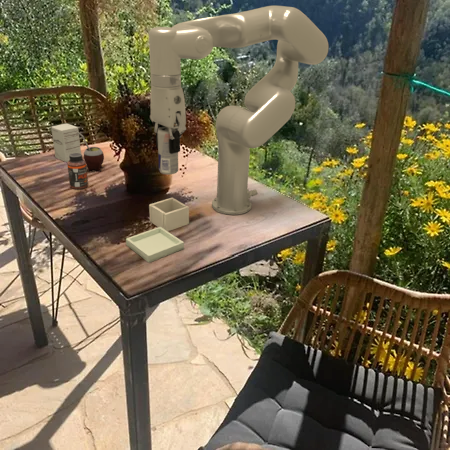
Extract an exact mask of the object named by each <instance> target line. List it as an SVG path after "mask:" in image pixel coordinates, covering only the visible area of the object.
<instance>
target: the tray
mask: <svg viewBox="0 0 450 450" xmlns="http://www.w3.org/2000/svg"><path fill="white" fill-rule="evenodd" d="M125 244H126V246H127V247H128V248H129V249H131V250H132V251H133V252H134V253H136V254H137V255H139V257H140V258H142V259H143V260H145V261H146V262H147V263H149V264H150V263H152V262H154V261H157V260H160V259H162V258H165V257H168V256H169V255H172V254H174V253H177V252H179V251H182V250H184V249H185V242H184V241H183V240H181V239H180V238H178V237H176V235H174V234H172V233H171V232H170V231H166V230H165V229H163V228H162V227H156V228H153V229H149V230H147V231H144V232H141V233H138V234H134V235H133V236H129V237H127V238H125Z"/></svg>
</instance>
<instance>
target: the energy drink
mask: <svg viewBox="0 0 450 450" xmlns="http://www.w3.org/2000/svg"><path fill="white" fill-rule="evenodd" d="M175 131H176V129H173V132H175ZM157 134H158V147H157V149H158V150H157V156H158V171H159V172H160V173H161V174H162V175H169V176H170V175H174V174H177V173H178V172H179V152H177V153H173V154H170V153H169V139H171V138H170V133H169V129H168V127H160V128H158V132H157Z"/></svg>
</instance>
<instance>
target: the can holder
mask: <svg viewBox="0 0 450 450" xmlns="http://www.w3.org/2000/svg"><path fill="white" fill-rule="evenodd" d="M148 209H149V210H148V211H149V222H150V223H151V224H153V225H154V226H156V228H158V227H162V228H163V229H165V230H166V231H168V232H171V231H173V230H175V229H179V228H181V227H184V226H187V225H189V224H190V206H188V205H186V204H185V203H183V202H181V201H180V200H177V199H176V198H174V197H170V198H166V199H162V200H160V201H157V202H156V201H155V202H154V203H153V202H152V203H150V204H149V205H148Z"/></svg>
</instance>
